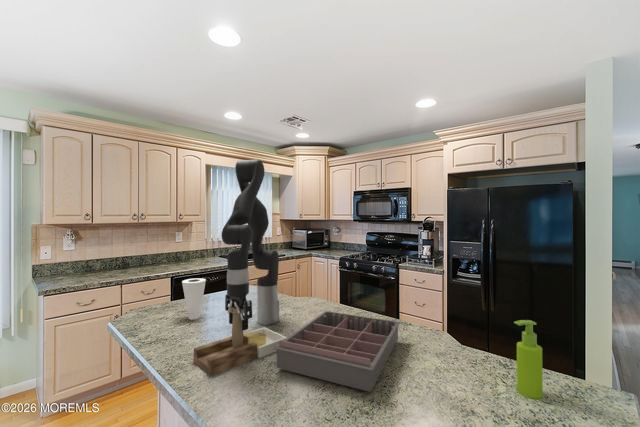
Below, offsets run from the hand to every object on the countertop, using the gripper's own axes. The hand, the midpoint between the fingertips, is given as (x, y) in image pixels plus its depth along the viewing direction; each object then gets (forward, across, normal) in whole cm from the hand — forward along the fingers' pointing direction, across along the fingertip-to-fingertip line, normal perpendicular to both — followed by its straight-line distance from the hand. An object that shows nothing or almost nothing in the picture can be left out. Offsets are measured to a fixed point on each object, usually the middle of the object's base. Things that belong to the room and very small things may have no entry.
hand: (238, 326), depth 107 cm
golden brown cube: (+9, 0, -8) cm, 12 cm away
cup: (+11, +49, -5) cm, 50 cm away
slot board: (+10, 0, +5) cm, 11 cm away
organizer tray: (+11, -27, -26) cm, 39 cm away
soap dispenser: (+10, -78, -44) cm, 90 cm away
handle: (+8, 0, 0) cm, 8 cm away
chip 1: (+8, 0, -4) cm, 9 cm away
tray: (+10, 0, -9) cm, 14 cm away
